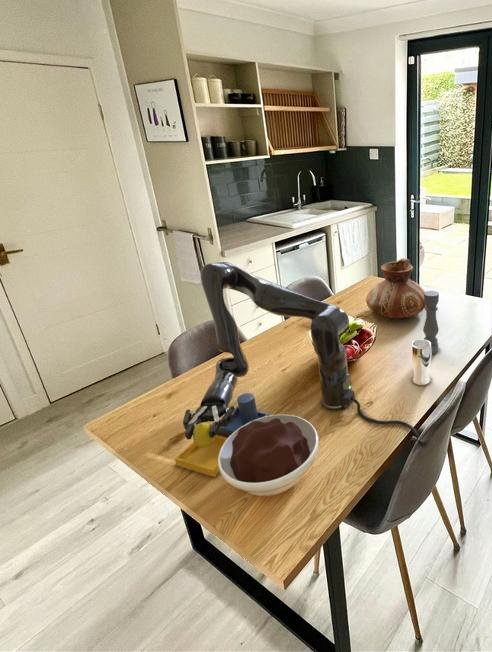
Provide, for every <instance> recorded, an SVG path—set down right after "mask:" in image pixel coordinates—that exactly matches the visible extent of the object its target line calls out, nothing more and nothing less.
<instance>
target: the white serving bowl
mask: <svg viewBox="0 0 492 652" xmlns="http://www.w3.org/2000/svg"><path fill="white" fill-rule="evenodd" d="M227 438H228V439H227V440H226V441H225V442H224V444H223V446H222V447H221V450H220V452H219V456H218V468H219V473H220V476H221V477H222V478H223V479H224V481H226V482H227V484H229V485H230V486H232V487H234V488H235V489H239V490H241V491H244V492H246V493H248V494H250V495H253V496H257V497H271V496H276V495H279V494H281V493H283V492H286V491H288V490H289V489H291V488H293V487H294V486H295V485H296V484H298V482H300V480H301V479H302V478H303V477H304V475H305V474H306V472H307V470H308V469H309V468H310V467H311V465H312V464H313V462H314V460H315V459H316V456H317V454H318V451H319V446H320V440H319V439H320V438H319V434H318V431H317V430H316V428H315V426H313V424H312V423H311V422H310V421H308V420H307V419H305V418H303V417H301V416H297V415H293V414H279V413H278V414H271V415H270V414H269V416H266V417H262V418H259V419H256V420H253V421H251V422H249V423H247V424H245V425H243V426H242V427H240V428H239V429H237V430H236V431H235V432H234V433H232V434H231V435H228V437H227Z"/></svg>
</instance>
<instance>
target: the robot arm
mask: <svg viewBox="0 0 492 652" xmlns="http://www.w3.org/2000/svg"><path fill="white" fill-rule="evenodd" d="M199 275H200V283H201V285H202V289H203V292H204V295H205V299H206V301H207V304H208V308H209V311H210V313H211V317H212V320H213V324H214V329H215V336H216V343H217V348H218V351H220V352H222V353H227V354H231V355H232V356H231V357H223V358H220V359H219V360H218V361H216V363H215V375H214V379H213V381H212V383H211V384H210V385H209V386H208V388H207V390H206V391H205V393H204V395H203V397H202V399H201V402H200V405H199V407H197V408H196V409H195V410H191V409H189V408H188V409H186V410H185V413H184V416H183V420H182V424H183V428H184V430H185V431H184V437H185V438H186V440H189V441H190V440H191V439H192V438H193V430H194V428H195V427H196V426H197V425H198V424H200V423H203V422H206V423H210V422H211V423H212V424H211V425H212V426H211V428H210V430H209V435H210V438H213V437H214V436H215V435H218V430H219V428H221V426H224V427H226V426H228V424H229V423H230V421H231V420H232V418H233V417H234V415H235V414H236V413H235V406H234V405H231V406H230V407H229V405H230V403H231V401H232V399H233V395H234V391H235V389H236V387H237V384H238V378H243V377H246V375H247V374H248V373H249V368H250V364H249V362H248V359H247V357H246V355H245V352H244V351H243V348H242V345H241V342H240V333H239V328H238V324H237V322H236V319H235V317H234V316H233V315H232V313H231V312H230V310H229V308H228V306H227V304H226V301H225V297H224V290H233V291H236V292H239V293H242V294H244V295H245V296H247V297H248V298H249V299H250V300H251V301H252V302H253V304H254V305H255V306H257V307H258V308H260V309H261V310H263V311H266V312H267V313H270V314H273V315H275V316H280V317H288V318H289V317H290V318H303V319H308V320H310V334H311V341H312V347H313V351H314V352H315V354H316V357H317V364H318V365H317V366H318V375H319V383H320V391H321V403H322V405H323V407H325V408H326V409H328V410H340V409H346V408H347V407H348V406H349V407H350V406H351V404H352V403H354V404H356V411H357V413H358V415H360V417H361V418H362V419H364V420H365V421H367V422H369V423H370V422H371V423H373V424H377V425H401V426H404V427H406V428H408V429H409V430H410V431H411V432H412V433H413V434H414V436H415V438H416V439H417V440H418V438H419V437H420V438H421V436H420V435H419V433H418V431H417V430H416V428H414V427H413V426H412V425H411V424H409V423H407V422H404V421H401V420H378V419H374V418H371V417H368V416H366V415H365V414H364V413H363V412H362V410H361V404H360V402H359V401H358V400H357V399H356V394H355V390H353V387H352V386H353V385H352V376H351V374H350V373H349V369H348V355H347V348H346V346H345V345H344V344H343V343H340V341H339V336H340V335H342V334H343V332H344V331H345V330H346V329H347V328H348V326H349V324H350V319H349V315H348V314H347V312H346V311H345V310H344V309H342V308H341V307H340V306H337V305H334V304H331V303H328V302H325V301H321V300H318V299H315V298H311V297H309V296H306V295H304V294H301V293H299V292H296V291H294V290H291V289H289V288H287V287H285V286H282V285H280V284H277V283H275V282H272V281H270V280H267V279H265V278H261V277H259V276H257V275H254V274H252V273H250V272H248V271H246V270H244V269H243V268H240V267H239V266H237V265H235V264H234V263H231V262H227V261H220V262H211V263H210V262H209V263H207V264H204V266H203V267H202V268H201V269H200V274H199ZM220 418H221V419H220ZM419 444H420V445H424V441H423V440H422V442H421V443H419Z"/></svg>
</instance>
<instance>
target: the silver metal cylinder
mask: <svg viewBox="0 0 492 652" xmlns="http://www.w3.org/2000/svg"><path fill="white" fill-rule="evenodd" d="M410 351H411V363H412V368H413V377H412V383H414V384H415V385H418V386H426V385H428V384H429V383H430V382H431V378H430V368H431V362H432V354H431V343H430V342H429V341H428V340H424V338H423V339H422V338H421V339H415V340H413V341H412V342H411V350H410Z"/></svg>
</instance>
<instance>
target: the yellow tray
mask: <svg viewBox="0 0 492 652" xmlns="http://www.w3.org/2000/svg"><path fill="white" fill-rule="evenodd" d="M227 439H228V437H226V436H221V435H218V434H216V435H215V440H214V442H213V443H212V444H211V445H210V446H208V447H199V446H197V445H196V444H195V442H194V441H192V442H191V443H190V444H189V445H188V446H186V448H185V449H184V450H182V451H181V452H180V453H179V454H178V455H177V456H175V457H174V462H175V465H176V466H177V467H181V468H184V469H186V470H190V471H194V472H197V473H200V474H203V475H207V476H210V477H213V478H215V477H217V476H218V475H219V473H220V471H219V468H218V456H219V452H220V450H221V447H222V446H223V444H224V442H225V441H226V440H227Z"/></svg>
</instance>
